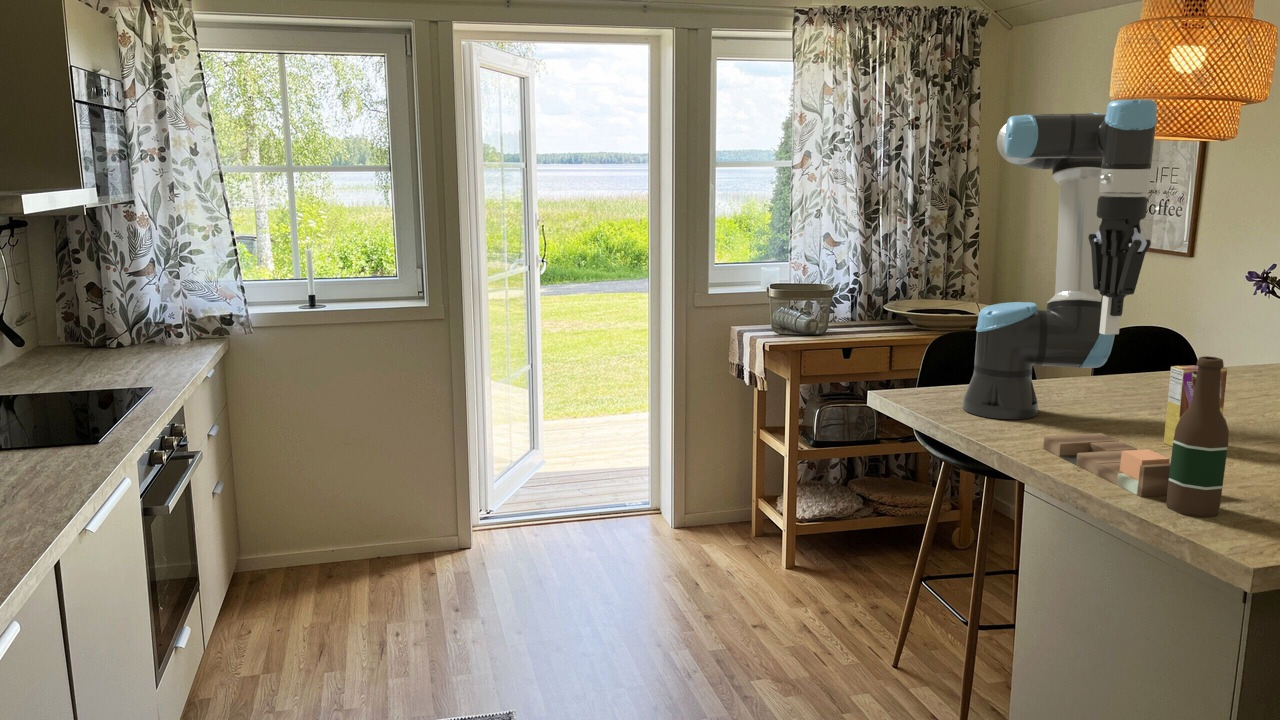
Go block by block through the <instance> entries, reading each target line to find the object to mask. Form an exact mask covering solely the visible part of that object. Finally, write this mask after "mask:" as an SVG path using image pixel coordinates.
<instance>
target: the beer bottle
mask: <svg viewBox="0 0 1280 720" xmlns="http://www.w3.org/2000/svg"><path fill="white" fill-rule="evenodd" d="M1224 364H1225V363H1224V360H1223V359H1222V358H1220V357H1216V356H1199V357H1198V359H1197V362H1196V365H1197V366H1198V371H1197V377H1196V382H1195V387H1194V393H1193V398H1192V402H1191V405H1190V407H1189V408H1188V409H1187V411H1186V412H1185V413H1184V414H1183V415H1182V416H1181V418H1180V420H1179V422H1178V424H1177V426H1176V429H1175V434H1174V439H1173V447H1172V446H1171V457H1170V463H1171V464H1170V473H1169V482H1168V490H1167V495H1166V507H1167V509H1169V510H1171V511H1174V512H1175V511H1176V513H1177V514H1180V515H1183V516H1184V515H1185V516H1190V517H1191V516H1192V517H1197V518H1209V517H1217V516H1218V515H1219V513H1220V507H1221V503H1222V502H1221V500H1222V494H1223V486H1224V479H1225V478H1224V477H1225V471H1226V463H1227V456H1228V455H1227V454H1228V448H1229V447H1228V446H1229V437H1230V436H1229V431H1230V430H1229V427H1228V424H1227V420H1226V418H1225V417H1224V414H1223V415H1222V413H1221V412H1220V404H1219V396H1220V378H1221V368H1223V367H1224ZM1224 368H1225V367H1224Z"/></svg>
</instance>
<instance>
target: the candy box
mask: <svg viewBox="0 0 1280 720" xmlns="http://www.w3.org/2000/svg"><path fill="white" fill-rule="evenodd" d="M1197 371H1198V366H1197V365H1194V364H1193V365H1174V366H1173V365H1171V366H1170V373H1169V384H1168V385H1169V386H1168V395H1167V405H1166V416H1165V425H1164V435H1163V436H1164V437H1163V443H1164V444H1166V445H1167V446H1170V447H1171V448H1172V447H1173V439H1174V434H1175V429H1176V426H1177V424H1178V422H1179V420H1180V418H1181V416H1182V415H1183V414H1184V413H1185V412H1186V411H1187V409H1188V408H1189V407H1190V405H1191V402H1192V398H1193V393H1194V387H1195V382H1196V377H1197ZM1227 374H1228V368H1227V367H1223V368H1221V378H1220V396H1219V404H1220V412H1221V413H1222V415H1223V416H1224V406H1225V405H1224V404H1225V398H1226V397H1225V395H1226V386H1227V385H1226V384H1227V378H1228V377H1227Z"/></svg>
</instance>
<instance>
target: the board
mask: <svg viewBox="0 0 1280 720" xmlns="http://www.w3.org/2000/svg"><path fill="white" fill-rule="evenodd" d="M1043 450H1045V451H1047V452H1049V453H1051V454H1052V455H1055V456H1057V457H1059V458H1061V459H1063V460H1065V461H1067V462H1069V463H1072V464H1073V465H1076V466H1077V467H1080V468H1082V469H1083V470H1086V471H1088V472H1090V473H1092V474H1094V475H1096V476H1098V477H1099V478H1101V479H1104V480H1106V481H1108V482H1110V481H1111V482H1110V483H1112V484H1114V485H1116V486H1118V487H1119V488H1122V489H1124V490H1126V491H1129V492H1130V493H1132V494H1134V495H1136V496H1139V498H1140V497H1141V498H1143V497H1144V498H1145V497H1146V496H1147V497H1158V496H1167V490H1168V482H1169V473H1170V464H1171V462H1169V464H1153V465H1140V472H1139V480H1137V479H1135V478H1133V477H1131V476H1129V475H1127V474H1125V473H1123V472H1121V471H1119V470H1120V462H1121V454H1122V451H1127V450H1139V449H1138V448H1137V447H1135V446H1132V445H1129V444H1127V443H1124V442H1123V441H1120V440H1119V439H1116V438H1115V437H1111V436H1110V435H1107V434H1105V433H1102V432H1101V433H1100V432H1099V433H1098V432H1097V433H1083V434H1082V433H1080V434H1063V435H1048V436H1047V435H1046V436H1044V437H1043ZM1147 497H1146V498H1147Z"/></svg>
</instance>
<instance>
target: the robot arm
mask: <svg viewBox="0 0 1280 720" xmlns="http://www.w3.org/2000/svg"><path fill="white" fill-rule="evenodd" d="M1157 111H1158V105H1157V102H1156V101H1155V100H1154V99H1117V100H1115V99H1114V100H1112V101H1110V102H1109V103H1108V104H1107V107H1106V113H1097V112H1089V113H1036V114H1022V115H1011V116H1009V118H1008V119H1007V120H1006V123H1004V124H1003V126H1002V127H1001V128H1000V129H999V131H998V133H997V135H996V136H997V137H996V141H995V143H996V144H995V146H996V150H997V152H998V155H999V156H1000V157H1001V158H1002V159H1003V160H1004V161H1006V162H1007V163H1008V164H1012V165H1014V166H1018V167H1021V168H1026V169H1031V170H1052V176H1051V177H1052V180H1053V181H1054V182H1055V183H1056V184H1057V185H1058V186H1059V194H1058V195H1059V196H1058V198H1059V199H1058V219H1057V239H1056V240H1057V244H1056V267H1055V269H1056V270H1055V289H1054V290H1055V291H1054V296H1053V297H1051V298H1050V299H1049V300H1048V301H1047V302H1046V309H1045V310H1040V309H1039V306H1038V304H1036V303H1035V302H1031V301H1027V302H1026V301H1025V302H1023V301H1014V302H1013V301H1012V302H1002V303H996V304H991V305H987V306H985V307H983V308H981V310H979V313H978V318H977V325H976V328H975V331H976V341H975V353H974V366H973V367H974V368H973V374H972V376H971V379H970V382H969V384H968V386H967V388H966V391H965V394H964V396H963V401H962V409H963V410H964V411H965V412H967V413H969V414H972V415H975V416H979V417H984V418H989V419H998V420H1025V419H1026V420H1027V419H1031V418H1034V417H1036V416H1038V410H1039V403H1038V398H1037V395H1036V392H1035V391H1036V390H1035V388H1034V383H1033V379H1032V376H1033V375H1032V374H1033V366H1043V367H1045V366H1046V367H1047V366H1048V367H1049V366H1050V367H1062V368H1064V367H1065V368H1078V369H1083V368H1088V369H1089V368H1090V369H1092V368H1093V369H1094V368H1095V369H1096V368H1101V367H1102V366H1104V365H1105V364H1106V362H1108V358H1109V357H1110V355H1111V352H1112V348H1113V345H1114V342H1115V341H1114V340H1115V336H1116V335H1119V334H1120V325H1121V317H1122V315H1123V310H1124V299H1125V297H1127V296H1129V295H1134V294H1135V291H1136V288H1137V284H1138V280H1139V277H1140V274H1141V270H1142V266H1143V263H1144V259H1145V256H1146V253H1147V251H1148V250H1149V248H1150V246H1151V245H1152V244H1151V240H1150V239H1144V237H1143V236H1142V235H1141V232H1142V228H1141V225H1140V223H1141V221H1142V220H1144V219H1146V217H1147V210H1148V201H1149V199H1148V197H1147V196H1145V194H1148V193H1149V192H1150V184H1151V173H1152V169H1151V168H1152V161H1153V154H1154V153H1153V152H1154V144H1155V143H1154V142H1155V136H1156V127H1157V124H1158V118H1157V116H1158V115H1157V113H1158V112H1157Z"/></svg>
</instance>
